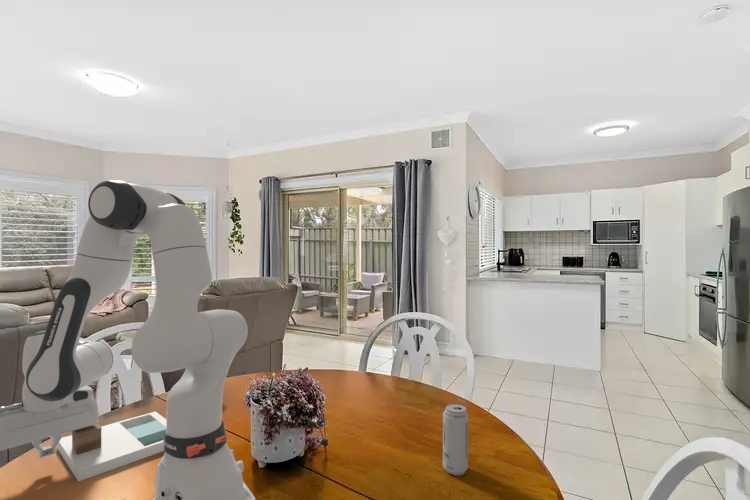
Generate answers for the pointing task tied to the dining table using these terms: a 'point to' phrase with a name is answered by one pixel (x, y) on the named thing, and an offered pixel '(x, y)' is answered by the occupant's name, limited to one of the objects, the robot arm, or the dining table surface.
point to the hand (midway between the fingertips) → (46, 455)
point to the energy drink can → (455, 439)
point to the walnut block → (86, 439)
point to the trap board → (117, 445)
